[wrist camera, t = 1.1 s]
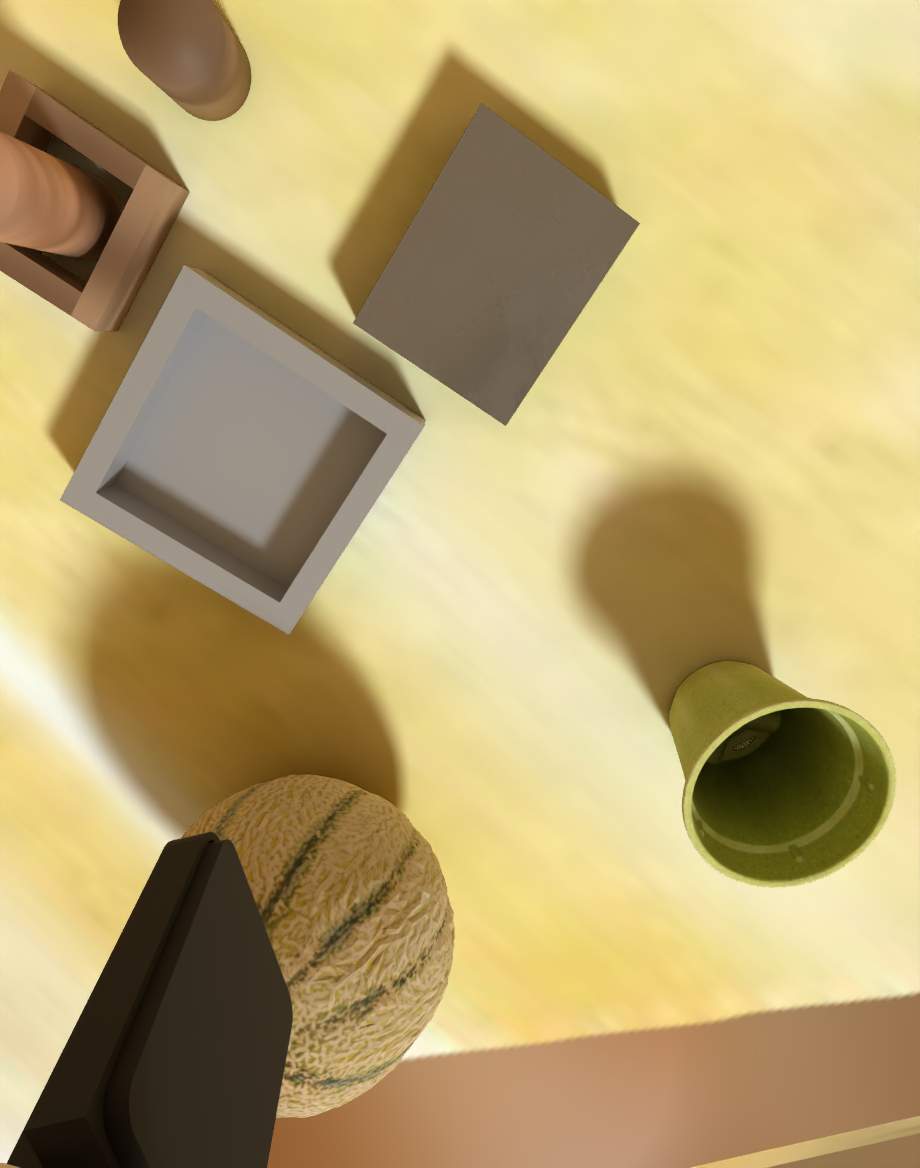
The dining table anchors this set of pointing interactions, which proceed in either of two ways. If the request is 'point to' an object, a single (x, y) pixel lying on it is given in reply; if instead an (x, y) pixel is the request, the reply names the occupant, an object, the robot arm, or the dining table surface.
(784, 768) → the plant pot
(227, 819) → the cantaloupe
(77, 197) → the dowel
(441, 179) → the grey rectangular block
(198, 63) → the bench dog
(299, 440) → the tray
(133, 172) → the socket block
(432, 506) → the dining table surface
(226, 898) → the robot arm
